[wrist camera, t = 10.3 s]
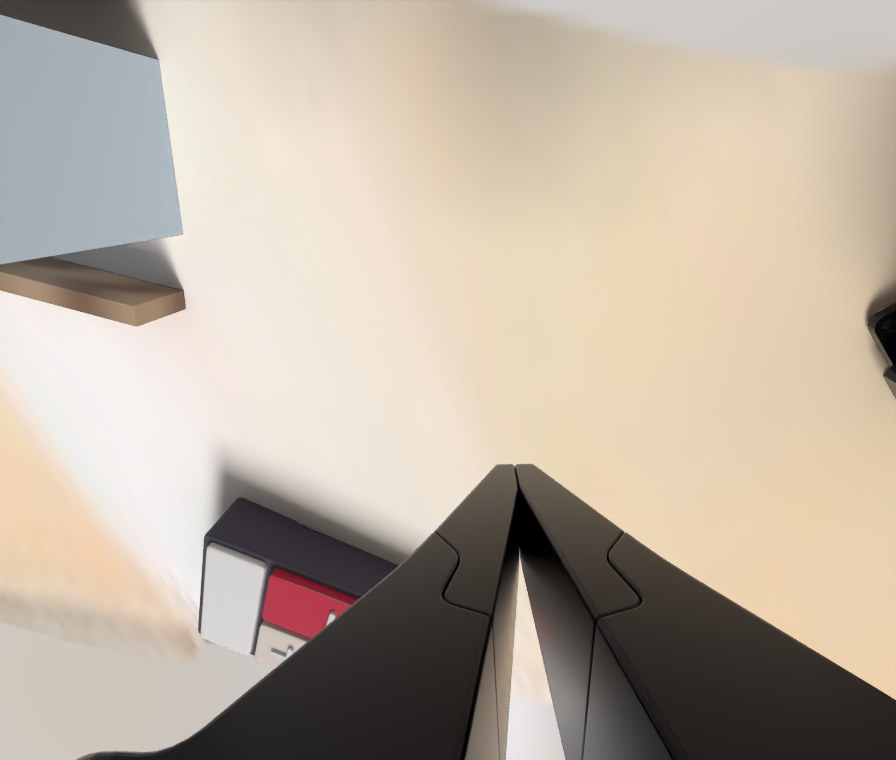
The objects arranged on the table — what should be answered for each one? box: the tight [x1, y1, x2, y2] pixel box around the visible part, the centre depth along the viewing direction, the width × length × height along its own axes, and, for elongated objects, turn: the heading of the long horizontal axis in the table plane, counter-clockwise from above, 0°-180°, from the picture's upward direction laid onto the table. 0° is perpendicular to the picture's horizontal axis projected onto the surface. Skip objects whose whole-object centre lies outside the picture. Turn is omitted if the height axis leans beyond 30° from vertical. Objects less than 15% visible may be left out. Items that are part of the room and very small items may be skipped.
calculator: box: [198, 498, 398, 669], centre depth 29 cm, size 11×4×15 cm
